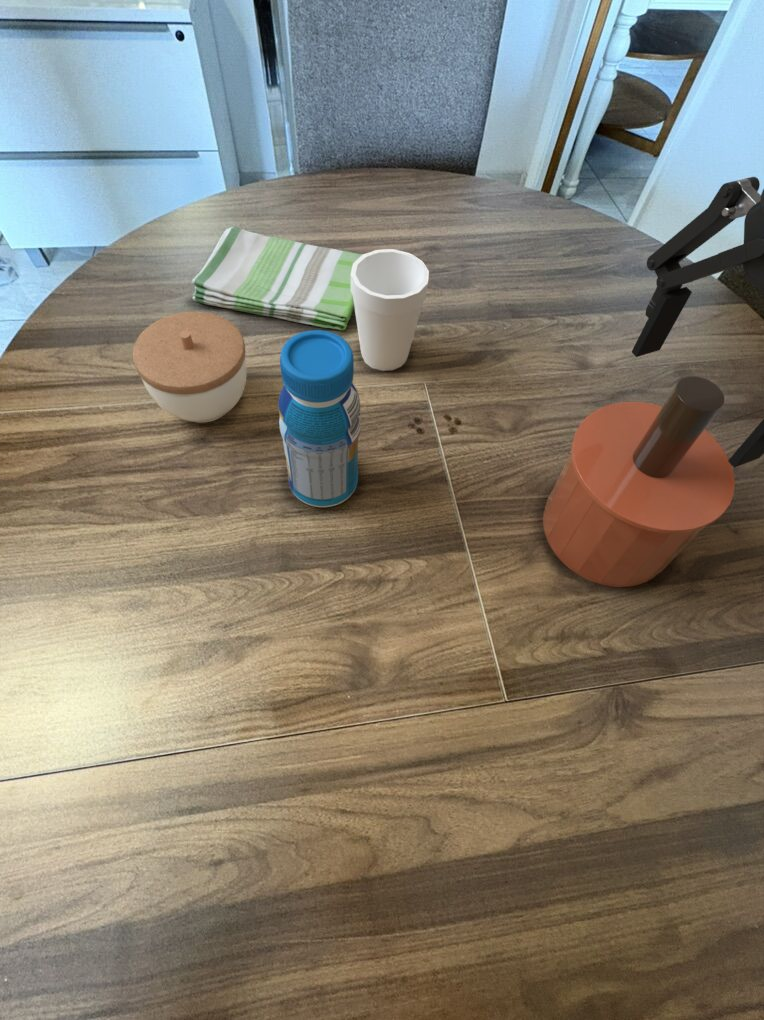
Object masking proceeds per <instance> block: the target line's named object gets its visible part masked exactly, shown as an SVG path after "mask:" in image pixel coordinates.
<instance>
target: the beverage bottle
mask: <svg viewBox="0 0 764 1020" xmlns="http://www.w3.org/2000/svg"><path fill="white" fill-rule="evenodd" d="M354 362H355V358H354V354H353V349H352V348H351V346H350V344H349V342H348V341H347V340H346V339H345V338H344V337H342V336H340V335H339V334H336V333H334V332H331V331H328V330H323V329H321V330H320V329H313V330H306V331H303V332H299V333H297V334H295V335H294V336H291V337H290V338H289V339H288V340H287V341H286V342H285V343H284V344H283V346H282V347H281V351H280V356H279V366H280V373H281V379H282V383H283V386H282V388H281V390H280V392H279V397H278V402H277V410H278V414H279V420H278V423H279V424H278V425H279V432H280V435H281V438H282V443H283V449H284V457H285V463H286V469H287V470H286V471H287V480H288V485H289V488H290V491H291V492H292V494H293V495H294V496H295V497H296V498H297V499H298V500H299V501H300V502H302V503H304V504H306V505H308V506H311V507H315V508H331V507H335V506H338V505H340V504H342V503H345V501H347V500H348V499H350V497H351V496H352V495H353V494H354V492H355V491H356V488H357V486H358V483H359V468H358V455H359V437H360V435H361V429H362V417H361V413H360V412H361V399H360V395H359V392H358V391H357V388H356V387H355V384H354V383H353V382H354V371H355V370H354V369H355V368H354V367H355V366H354Z"/></svg>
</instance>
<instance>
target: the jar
mask: <svg viewBox="0 0 764 1020" xmlns="http://www.w3.org/2000/svg"><path fill="white" fill-rule="evenodd" d="M542 516H543V517H542V526H543V531H544V535H545V538H546V540H547V543H548V545H549V547H550V548H551V550H552V551H553V553H554V554H555V556H556V557H557V558H558V559H559V560H560V561H561V563H562V564H564V565H565V566H566V567H567V568H569V570H571V571H572V572H574V573H575V574H576V575H578V576H580V577H582V578H583V579H585V580H587V581H590V582H592V583H595V584H598V585H602V586H606V587H613V588H614V587H615V588H629V587H630V588H631V587H634V586H639V585H641V584H644V583H646V582H648V581H651V580H652V579H654V578H655V577H657V575H659V574H660V573H661V572H663V571H664V570H665V569H666V568H667V567H668V566H669V565H670V564H671V563H672V562H673V560H674V559H676V557H678V555H679V554H680V553H681V552H682V551H683V550H684V549H685V548H686V547H687V546H688V545H689V544H690V543H691V542H692V541H693V540H694V539H695V537H696V536H698V534H699V533H701V531H702V530H703V529H704V528H702V529H698V530H695V531H692V532H686V533H673V534H670V533H659V532H654V531H648V530H645V529H642V528H638V527H636V526H633V525H631V524H628V523H626V522H624V521H622V520H620V519H618V518H616V517H615V516H613V515H612V514H610V513H609V512H607V511H606V510H605V509H603V508H602V507H601V506H600V505H599V504H597V503H596V502H595V501H594V500H593V499H592V498H591V497H590V495H589V494H588V493H587V492H586V490H585V489H584V488H583V486H582V485H581V483H580V481H579V480H578V477H577V475H576V473H575V470H574V467H573V464H572V457H571V452H570V453H569V456H568V457H567V459H566V461H565V463H564V465H563V468H562V469H561V471H560V474H559V475H558V477H557V480H556V481H555V484H554V485H553V487H552V489H551V491H550V494H549V495H548V498H547V499H546V502H545V506H544V510H543V513H542Z"/></svg>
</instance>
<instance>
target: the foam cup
mask: <svg viewBox="0 0 764 1020" xmlns="http://www.w3.org/2000/svg"><path fill="white" fill-rule="evenodd" d="M429 277H430V270H429V269H428V267H427V266H426V264H425V263H424V261H423V260H422V259H420V258H418V257H417V256H415V255H414V254H412V253H410V252H407V251H402V250H399V249H395V248H388V249H387V248H386V249H383V248H382V249H375V250H372V251H369V252H366V253H363V254H362V256H360V257H359V258H358V259H357V260H356V261H355V262H354V263H353V265H352V270H351V293H352V295H353V300H354V313H355V321H356V327H357V334H358V341H359V348H360V353H361V357H362V359H363V361H364V363H365V364H366V365H367V366H369V367H370V368H371V369H374V370H378V371H382V372H385V371H394V370H397V369H399V368H401V367H402V366H403V365H404V364H405V363H406V362H407V360H408V358H409V354H410V351H411V347H412V343H413V340H414V336H415V334H416V330H417V326H418V322H419V319H420V315H421V312H422V309H423V305H424V303H425V301H426V300H427V294H428V285H429Z"/></svg>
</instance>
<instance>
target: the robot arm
mask: <svg viewBox="0 0 764 1020" xmlns="http://www.w3.org/2000/svg"><path fill="white" fill-rule="evenodd" d="M760 187H761V183H760V179H759V178H758V177H756V176H750V177H746V178H741V179H737V180H733V181H729V182H725V183H723V184H722V185H721V186H720V188H719V190H718V191H717V192H716V194H715V196H714V197H713V199H712V200H711V202H710V203H709V205H708V207H706V209H704V210H703V211H702V212H701V213H700V214H699V215H696V217H694V219H693V220H691V221H690V222H689V223H688V224H687V225H685V226H684V227H683V228H682V229H681V230H679V231H678V232H677V233H675V234H674V235H673V236H672V237H671V238H670V239H669V240H667V241H666V242H665V243H664V244H662V245H661V246H660V247H659V248H658V249H657V250H656V251H654V252H653V253H652V254H651V255H650V256H648V257H647V260H646V267H647V269H648V270H649V271H651V272H653V271H654V273H655V275H656V277H657V278H656V281H655V283H656V288H655V291H654V292H653V294H652V296H651V298H650V300H649V302H648V304H647V306H646V308H645V316H646V317H647V320H646V322H645V324H644V326H643V328H642V330H641V331H640V334H639V336H638V338H637V340H636V342H635V344H634V346H633V348H632V350H631V353H632V354H633V356H634V357H635V358H638V357H642V356H645V355H648V354H652V353H654V352H657V351H660V350H661V349H662V347H663V345H664V343H665V341H666V340H667V338H668V336H669V334H670V333H671V331H672V329H673V328H674V325H675V324H676V322H677V320H678V318H679V317H680V315H681V313H682V311H683V309H684V308H685V306H686V304H687V302H688V301H689V298H690V297H691V295H692V293H693V291H692V290H691V289H689V287H688V286H683V285H686V284H691V283H693V282H694V281H697V280H700V279H704V278H707V277H709V276H713V275H715V274H719V273H722V272H725V271H727V270H730V269H734V268H736V267H740V266H742V269H743V272H744V274H745V275H744V276H743V280H745V281H746V282H747V283H748V284H749V285H751V286H753V287H755V288H757V289H759V290H760V291H761V293H762V295H764V188H763V189H762V191H761V194H760V193H759V192H758V191H759V190H760ZM743 217H744V221H743V222H744V224H743V243H742V244H740V245H737V246H734V247H732V248H729V249H726V250H724V251H721V252H718V253H717V254H713V255H712V256H708V257H706V258H703V259H701V260H698V261H695V262H693V263H690V264H687V265H684V266H681V264H680V262H682V261H683V260H685V258H687V257H688V256H690V255H691V254H692V253H693V252H695V251H696V250H697V249H699V248H700V247H701V246H702V245H704V244H705V243H706V242H708V241H709V240H710V239H712V238H713V237H714V236H716V235H717V234H718V233H719V232H721V231H722V230H723V229H725V228H726V227H727V226H728V225H730V224H731V223H732V222H734V221H735V220H737V219H739V218H743ZM763 455H764V418H763V419H762V420H761V422H759V424H758V425H757V426H756V427H755V428H754V429H753V430H752V432H751V433H750V434H749V435H748V436H747V437H746V438H745V440H744V441H743V442H742V443H741V445H739V447H738V448H737V449H736V451H734V453H733V454H732V455H731V456H730V458H729V460H728V462H729V463H730V464H731V465H732V468H737V467H740V466H742V465H744V464H745V465H746V464H747V463H751V462H752V461H753V462H754V461H756V460H758V459H760V458H761V457H762V456H763Z"/></svg>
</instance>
